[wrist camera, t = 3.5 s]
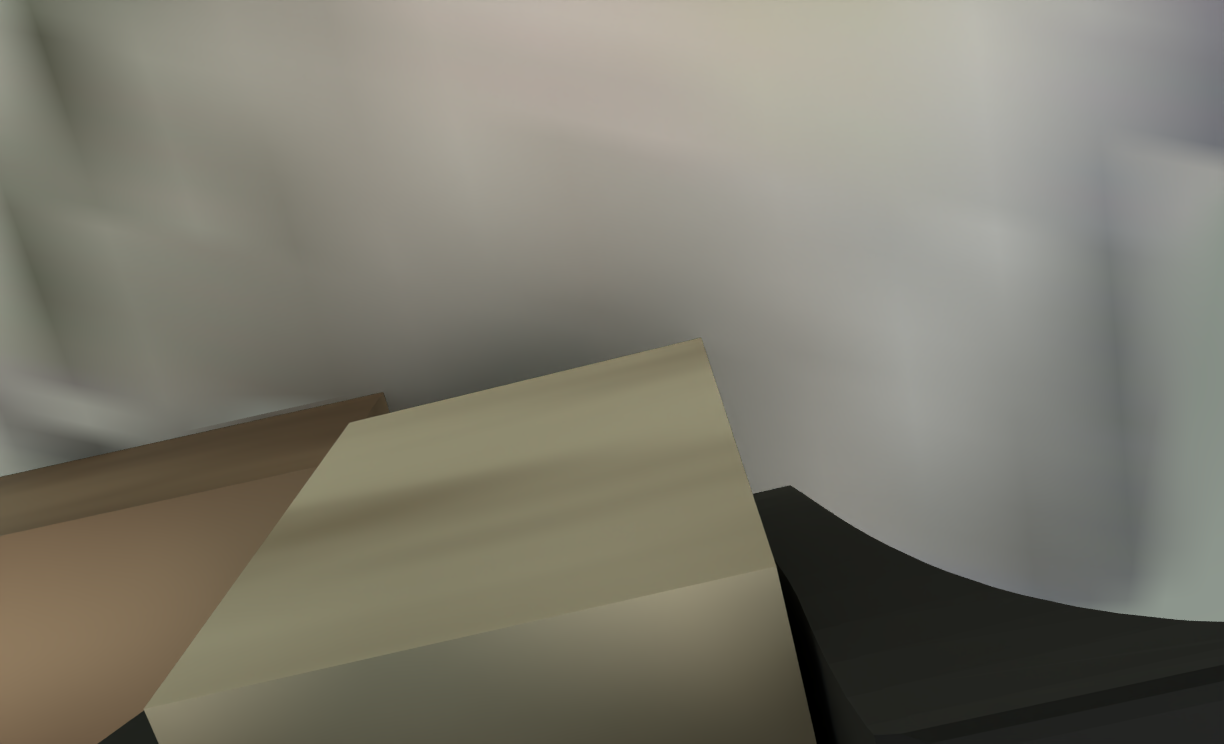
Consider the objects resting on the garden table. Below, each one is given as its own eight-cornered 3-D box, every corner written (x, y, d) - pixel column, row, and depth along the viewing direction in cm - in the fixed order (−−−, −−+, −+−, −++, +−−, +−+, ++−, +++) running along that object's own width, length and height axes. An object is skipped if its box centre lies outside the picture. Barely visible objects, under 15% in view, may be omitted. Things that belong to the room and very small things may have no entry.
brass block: (774, 652, 14) (889, 1066, 8) (452, 723, 14) (346, 1171, 9) (701, 337, 13) (776, 566, 7) (349, 422, 13) (142, 710, 7)
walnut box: (515, 806, 23) (496, 955, 19) (87, 890, 24) (-13, 1051, 20) (386, 386, 20) (336, 462, 16) (-95, 493, 21) (-252, 590, 17)
